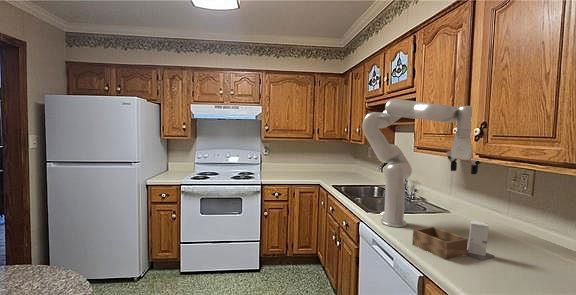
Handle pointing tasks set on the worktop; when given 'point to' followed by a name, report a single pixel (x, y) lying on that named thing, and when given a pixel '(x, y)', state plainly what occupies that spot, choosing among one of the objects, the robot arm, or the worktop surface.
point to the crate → (440, 242)
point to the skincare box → (478, 238)
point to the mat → (480, 256)
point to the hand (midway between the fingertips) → (463, 172)
